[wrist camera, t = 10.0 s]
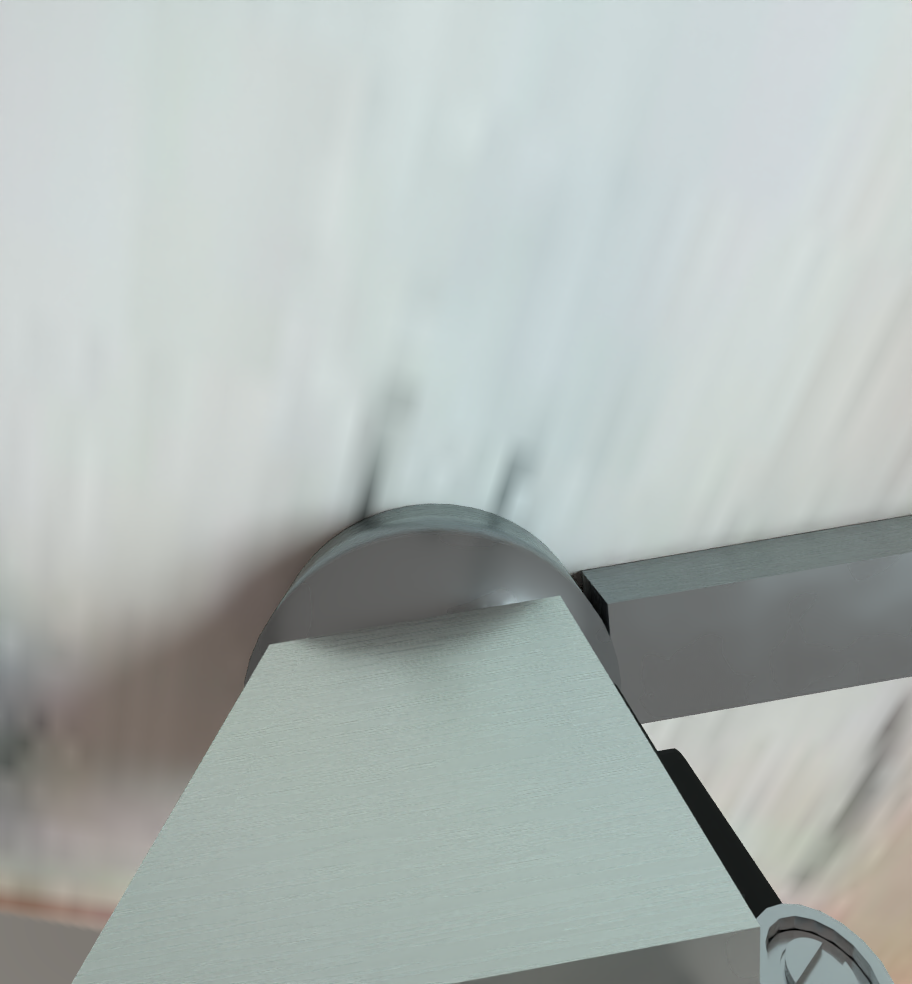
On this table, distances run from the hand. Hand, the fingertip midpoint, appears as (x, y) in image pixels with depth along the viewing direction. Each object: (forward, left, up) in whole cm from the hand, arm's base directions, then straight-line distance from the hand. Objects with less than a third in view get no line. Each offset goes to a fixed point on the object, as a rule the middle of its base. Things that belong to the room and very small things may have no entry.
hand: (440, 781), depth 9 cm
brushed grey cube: (0, 0, -1) cm, 1 cm away
